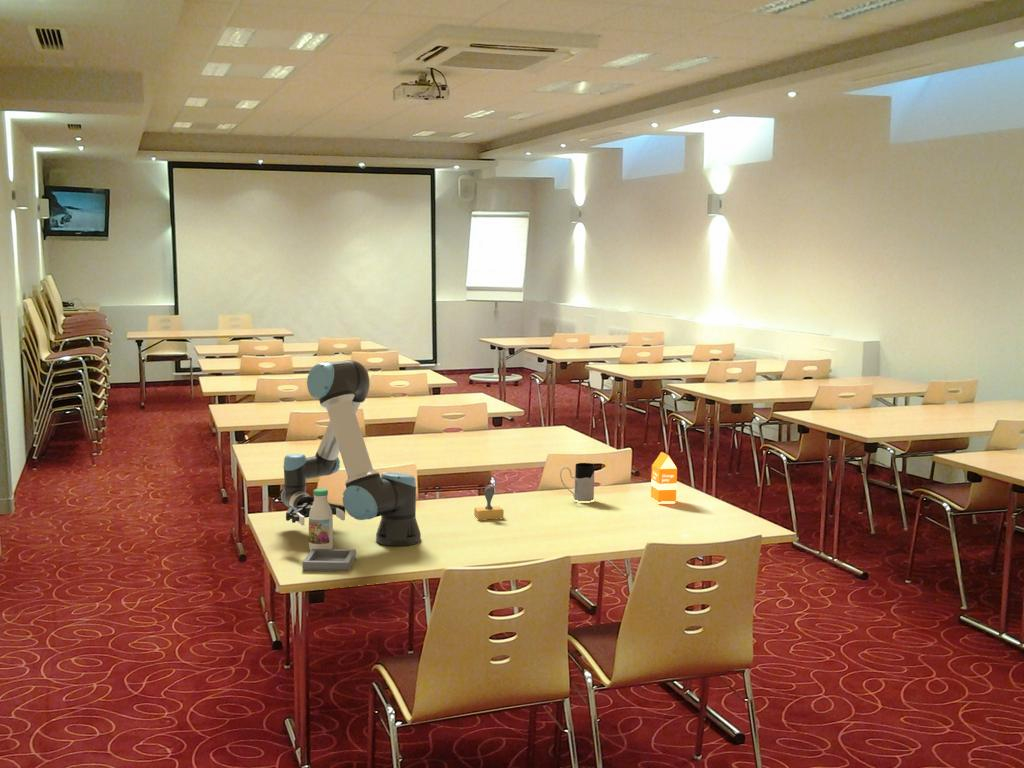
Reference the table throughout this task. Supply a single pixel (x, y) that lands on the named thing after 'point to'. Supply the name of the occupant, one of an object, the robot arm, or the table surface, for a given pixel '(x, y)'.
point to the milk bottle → (320, 522)
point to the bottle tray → (329, 560)
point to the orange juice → (664, 479)
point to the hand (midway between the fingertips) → (323, 518)
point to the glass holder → (583, 482)
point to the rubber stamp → (488, 508)
